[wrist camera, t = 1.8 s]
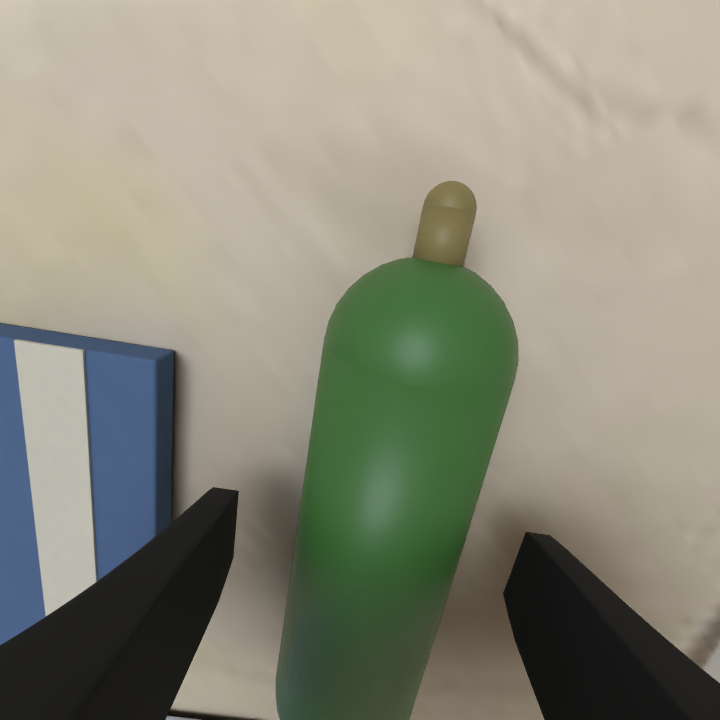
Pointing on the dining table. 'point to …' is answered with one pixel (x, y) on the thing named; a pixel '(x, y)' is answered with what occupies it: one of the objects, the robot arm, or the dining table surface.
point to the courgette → (393, 471)
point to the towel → (77, 464)
